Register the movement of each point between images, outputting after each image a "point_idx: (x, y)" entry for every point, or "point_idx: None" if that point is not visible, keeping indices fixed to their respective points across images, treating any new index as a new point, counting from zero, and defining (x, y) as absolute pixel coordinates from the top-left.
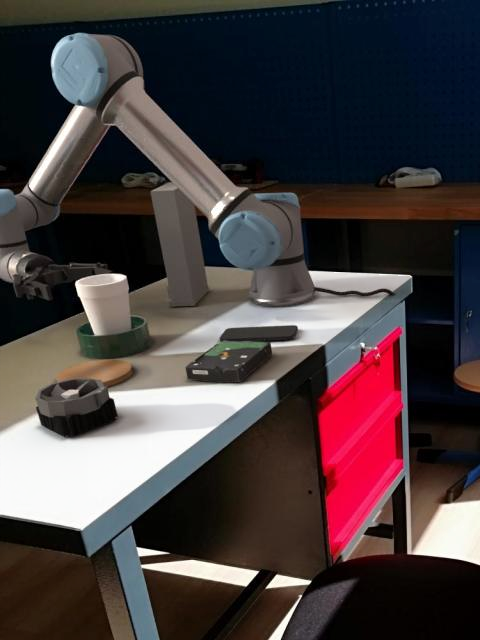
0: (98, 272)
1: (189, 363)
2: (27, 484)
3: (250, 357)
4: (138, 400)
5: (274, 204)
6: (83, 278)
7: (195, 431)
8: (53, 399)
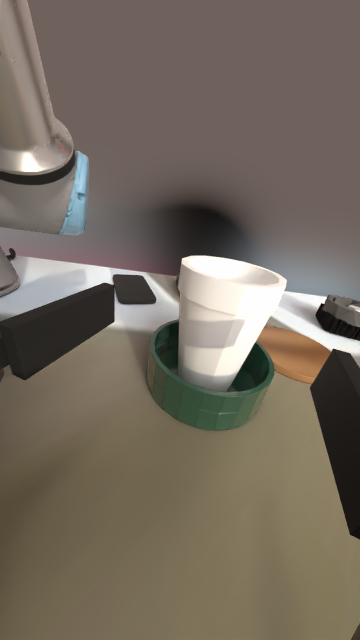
0: (49, 327)
1: None
2: None
3: None
4: (288, 315)
5: None
6: (243, 284)
7: (287, 293)
8: None
